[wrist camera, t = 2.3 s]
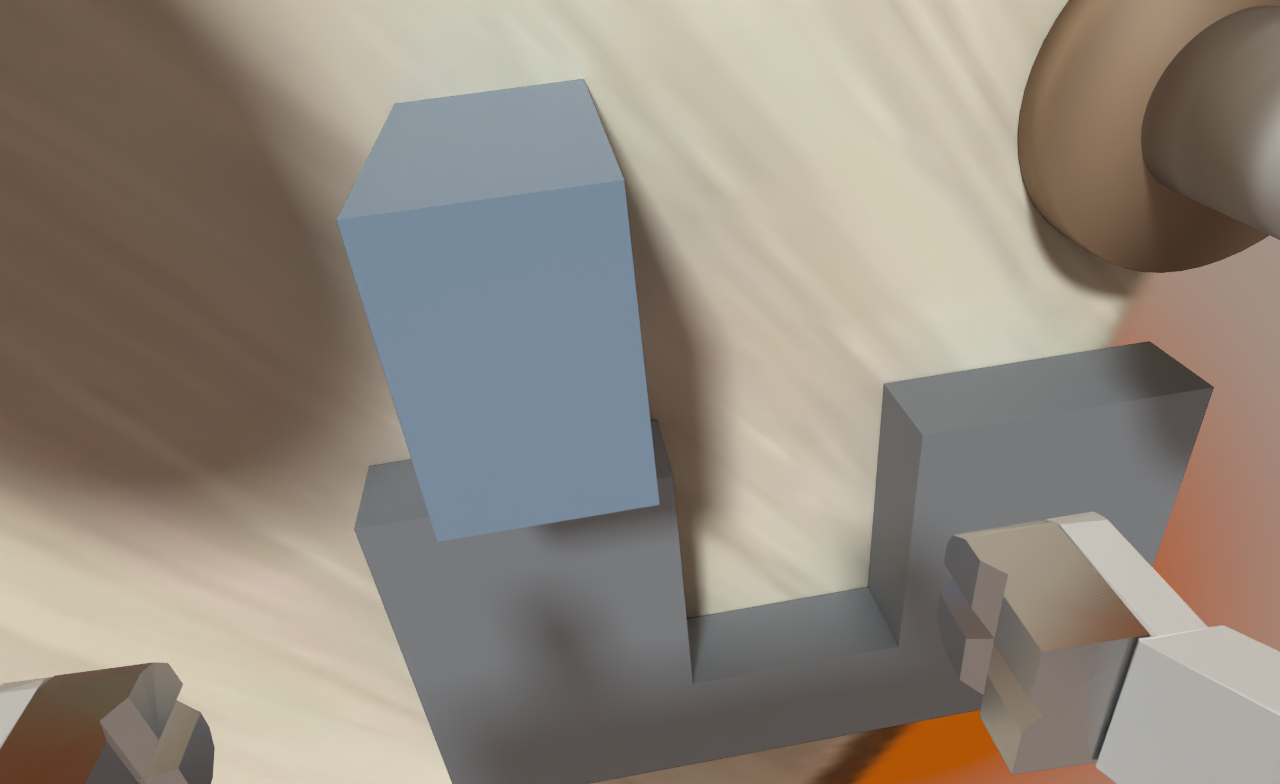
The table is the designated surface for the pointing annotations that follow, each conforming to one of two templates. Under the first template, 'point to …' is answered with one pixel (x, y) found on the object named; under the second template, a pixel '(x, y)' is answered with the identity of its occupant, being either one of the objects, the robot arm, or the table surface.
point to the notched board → (771, 634)
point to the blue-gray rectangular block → (505, 307)
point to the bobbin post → (1157, 129)
